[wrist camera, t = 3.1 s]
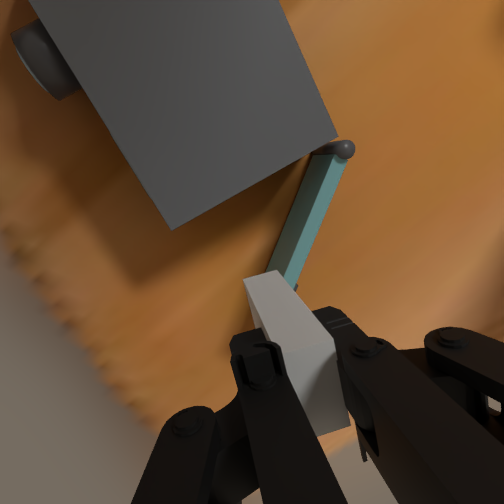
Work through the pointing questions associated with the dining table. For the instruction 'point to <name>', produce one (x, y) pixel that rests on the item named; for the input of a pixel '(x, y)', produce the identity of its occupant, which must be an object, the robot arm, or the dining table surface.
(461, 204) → the dining table surface
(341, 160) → the side door
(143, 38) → the block
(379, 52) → the dining table surface
